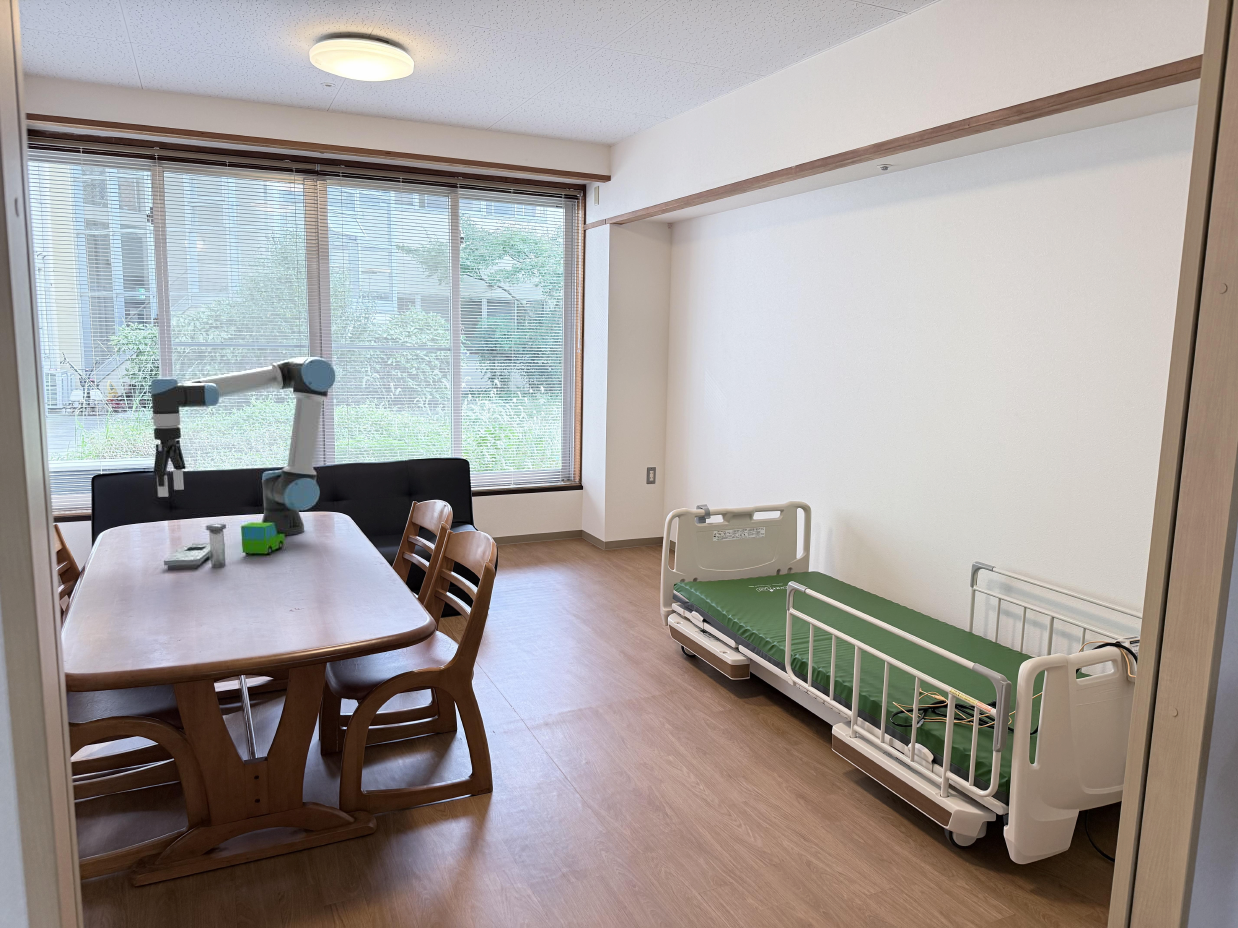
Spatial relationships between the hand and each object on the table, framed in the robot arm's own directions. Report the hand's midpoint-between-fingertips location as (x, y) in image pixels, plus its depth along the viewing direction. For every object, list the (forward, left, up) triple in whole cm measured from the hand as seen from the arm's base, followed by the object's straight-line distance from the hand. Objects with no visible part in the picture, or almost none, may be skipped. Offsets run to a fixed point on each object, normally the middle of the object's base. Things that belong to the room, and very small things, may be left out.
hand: (171, 493), depth 274 cm
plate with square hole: (-6, +1, -21) cm, 22 cm away
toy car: (-26, -4, -22) cm, 34 cm away
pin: (-16, +14, -21) cm, 30 cm away
